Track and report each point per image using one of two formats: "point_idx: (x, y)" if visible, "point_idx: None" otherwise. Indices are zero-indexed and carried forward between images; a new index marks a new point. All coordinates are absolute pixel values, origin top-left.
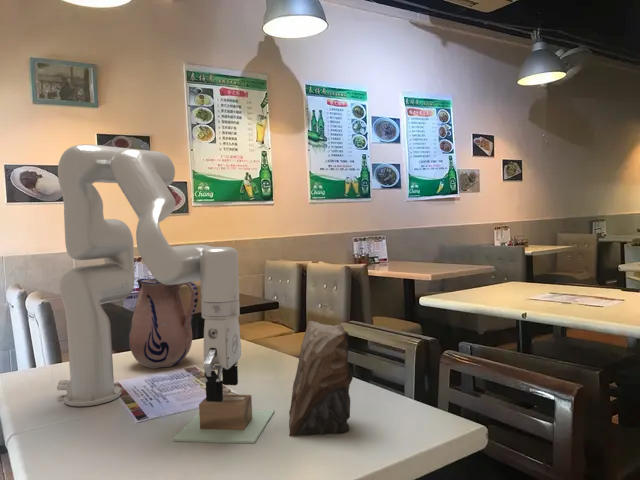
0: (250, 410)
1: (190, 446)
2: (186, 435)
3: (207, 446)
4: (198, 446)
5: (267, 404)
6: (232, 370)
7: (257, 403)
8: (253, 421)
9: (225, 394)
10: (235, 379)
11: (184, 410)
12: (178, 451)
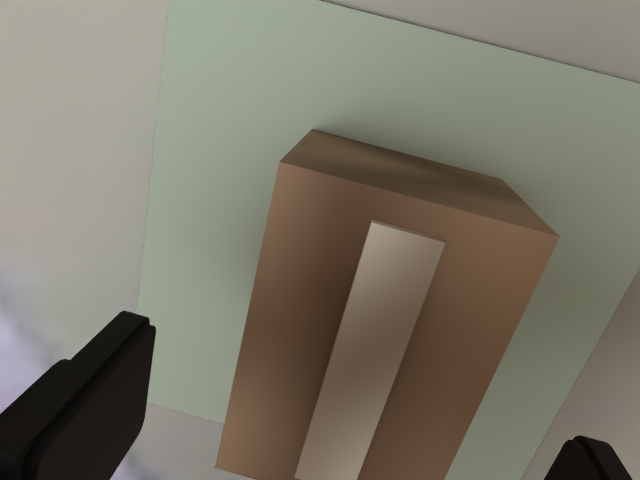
0: (342, 150)
1: (596, 431)
2: (479, 456)
3: (633, 361)
4: (613, 399)
5: (26, 24)
6: (65, 464)
7: (11, 98)
8: (366, 120)
9: (235, 370)
10: (126, 360)
11: (122, 462)
12: (636, 473)
